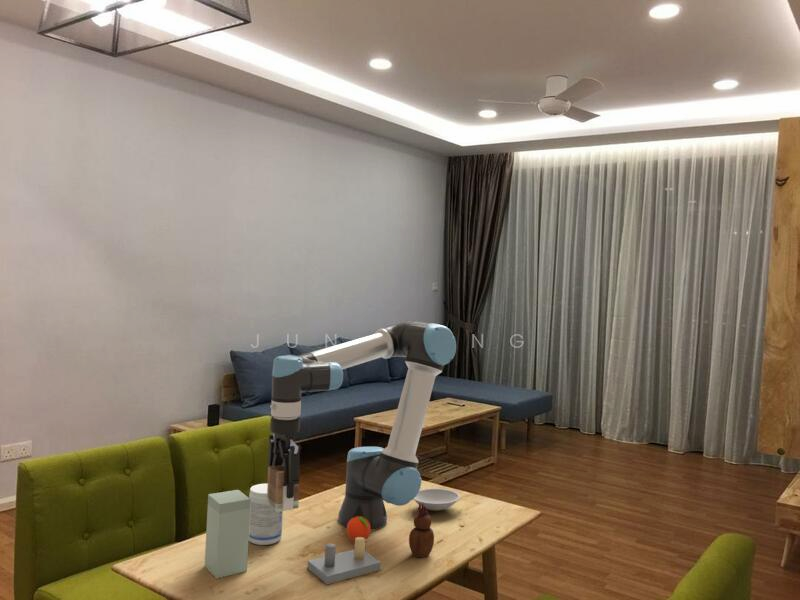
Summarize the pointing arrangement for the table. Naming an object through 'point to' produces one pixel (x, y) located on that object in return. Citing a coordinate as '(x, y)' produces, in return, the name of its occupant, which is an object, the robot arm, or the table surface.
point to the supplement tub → (263, 518)
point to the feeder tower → (227, 533)
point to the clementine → (358, 527)
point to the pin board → (344, 563)
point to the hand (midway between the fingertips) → (281, 505)
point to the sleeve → (278, 488)
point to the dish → (437, 498)
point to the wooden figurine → (421, 534)
